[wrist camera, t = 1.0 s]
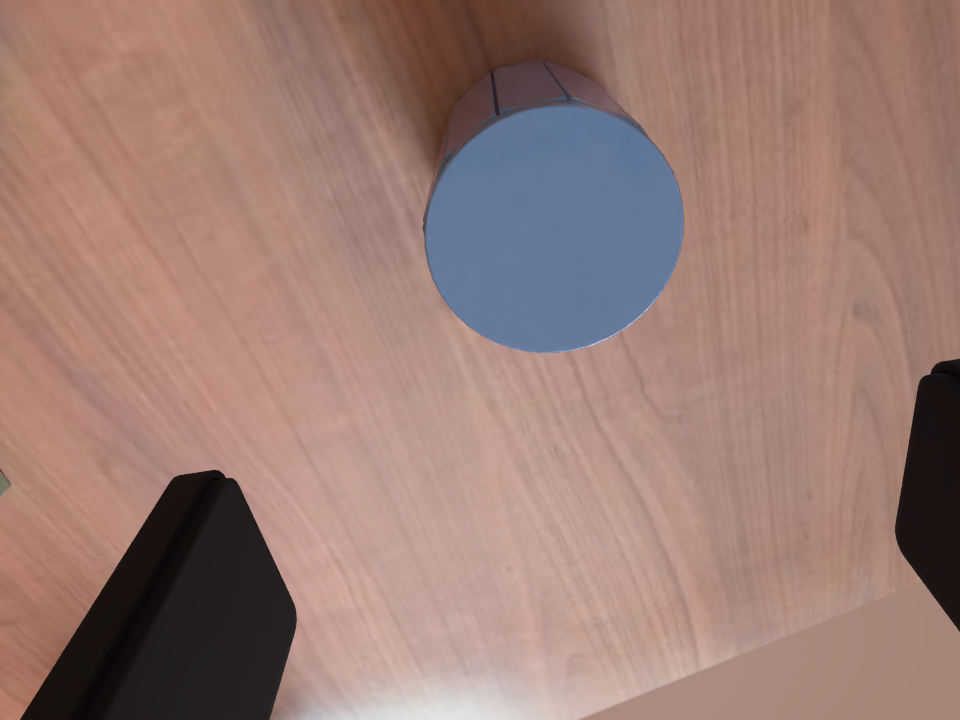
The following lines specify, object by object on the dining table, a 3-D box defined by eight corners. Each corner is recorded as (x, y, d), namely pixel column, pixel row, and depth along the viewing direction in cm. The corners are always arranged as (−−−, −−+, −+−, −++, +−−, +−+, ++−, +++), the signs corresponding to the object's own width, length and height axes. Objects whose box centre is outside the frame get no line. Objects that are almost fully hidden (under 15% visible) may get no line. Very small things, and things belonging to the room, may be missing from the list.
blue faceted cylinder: (422, 82, 24) (395, 135, 16) (612, 43, 23) (679, 77, 15) (461, 258, 27) (454, 371, 19) (627, 227, 27) (689, 332, 19)
